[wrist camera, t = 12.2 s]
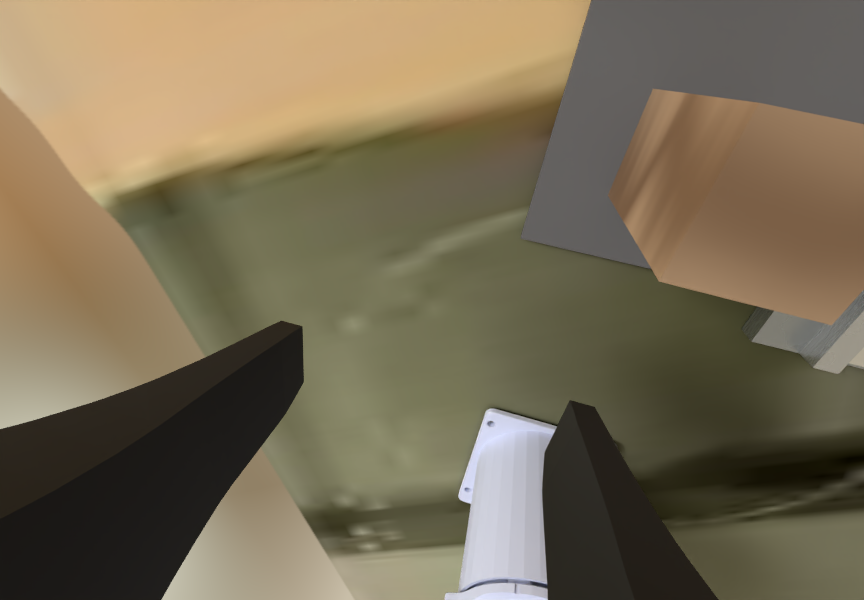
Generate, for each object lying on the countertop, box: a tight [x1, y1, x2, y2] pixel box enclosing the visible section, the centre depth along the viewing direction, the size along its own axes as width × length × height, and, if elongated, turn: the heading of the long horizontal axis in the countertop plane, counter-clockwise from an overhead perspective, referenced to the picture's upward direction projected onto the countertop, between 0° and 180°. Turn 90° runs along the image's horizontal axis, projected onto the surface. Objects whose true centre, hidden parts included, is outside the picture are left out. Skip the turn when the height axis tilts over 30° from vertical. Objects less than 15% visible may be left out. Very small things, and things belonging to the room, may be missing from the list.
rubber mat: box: [521, 0, 864, 269], centre depth 15 cm, size 10×10×1 cm
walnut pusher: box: [608, 89, 864, 325], centre depth 12 cm, size 4×4×8 cm
